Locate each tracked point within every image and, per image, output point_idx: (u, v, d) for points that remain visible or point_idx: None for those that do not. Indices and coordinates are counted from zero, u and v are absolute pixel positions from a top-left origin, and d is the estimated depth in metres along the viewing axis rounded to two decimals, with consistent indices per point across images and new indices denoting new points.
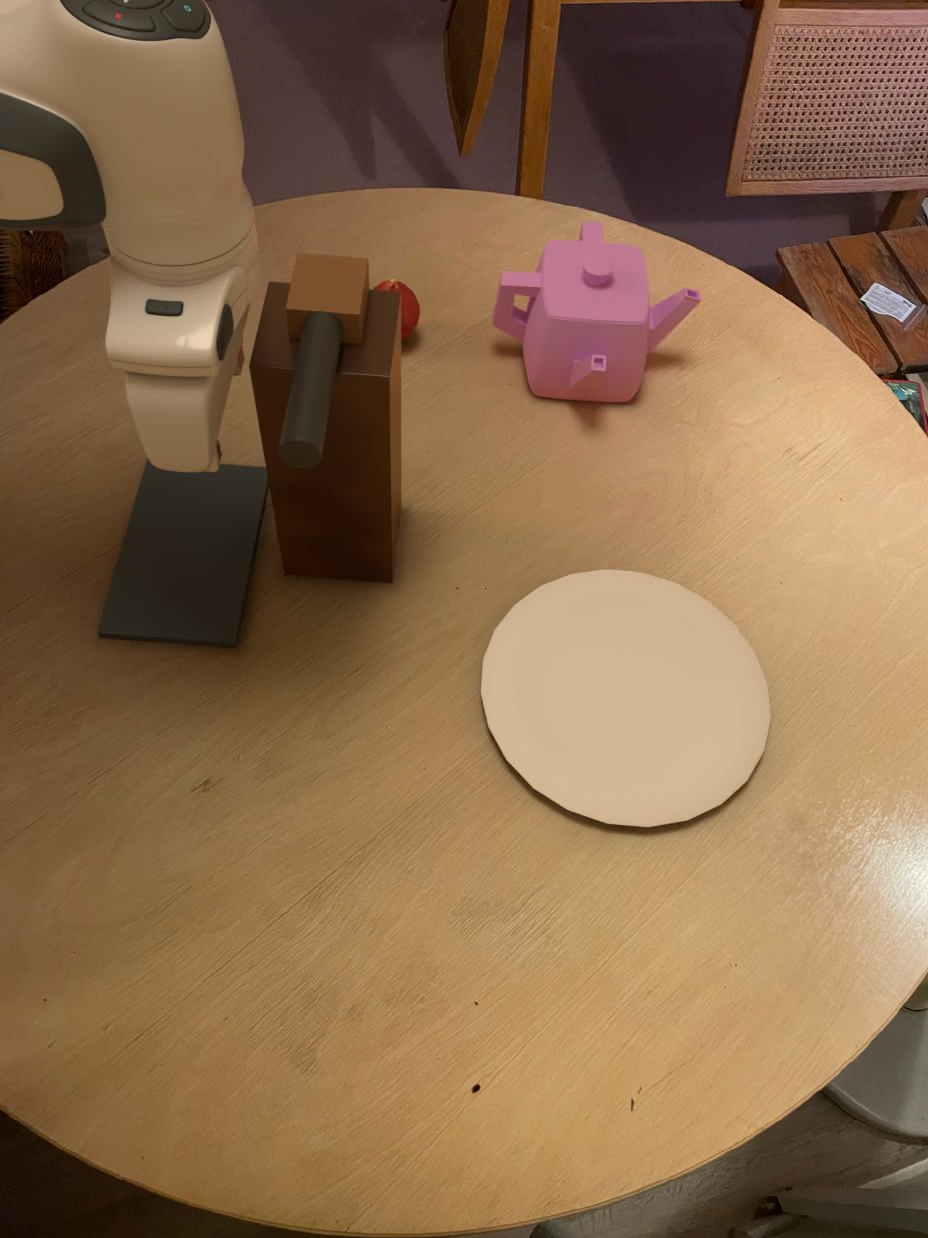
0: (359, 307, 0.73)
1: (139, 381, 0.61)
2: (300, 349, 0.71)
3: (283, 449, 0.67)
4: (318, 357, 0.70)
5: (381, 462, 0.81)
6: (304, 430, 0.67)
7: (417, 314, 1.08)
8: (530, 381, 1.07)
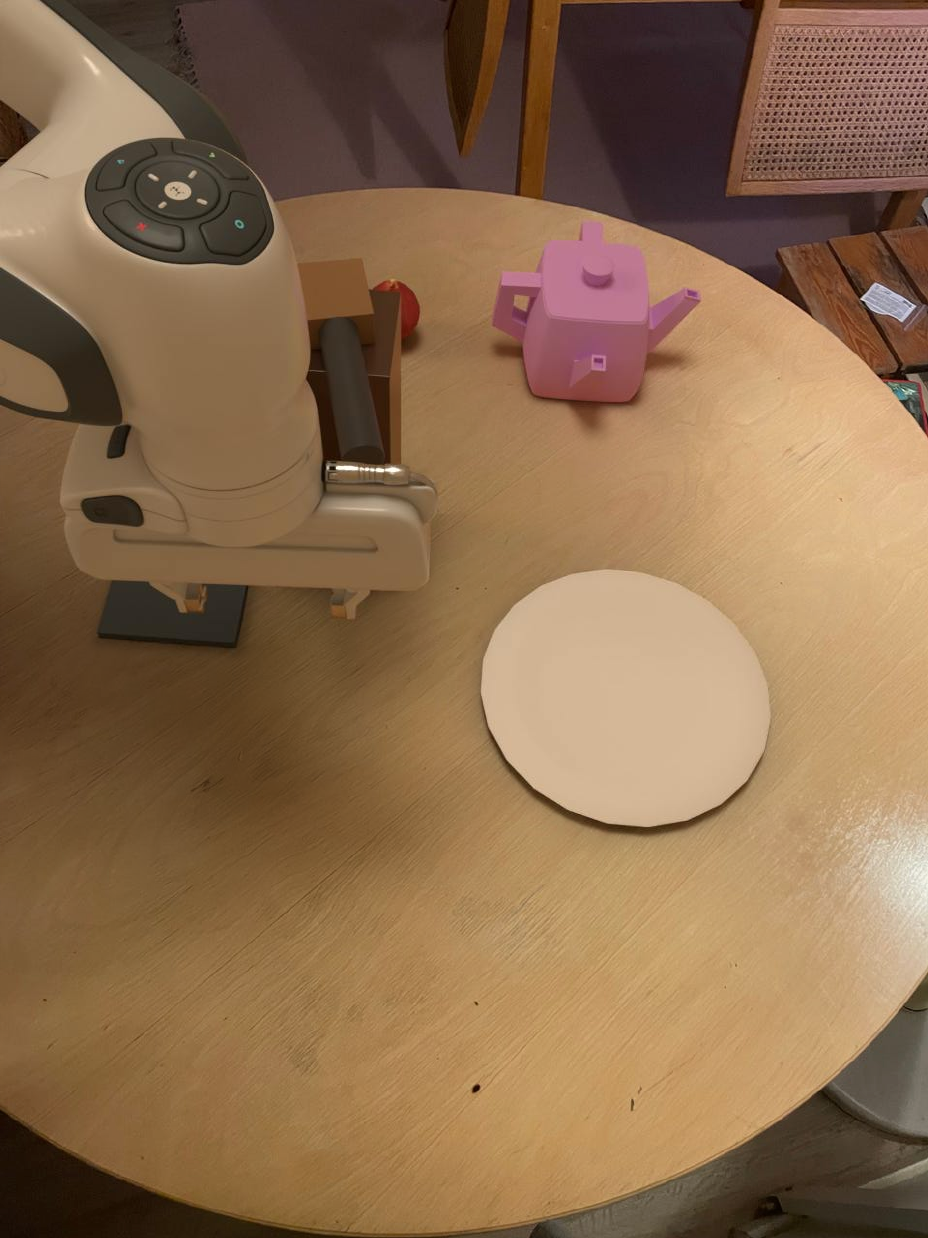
0: (371, 306, 0.73)
1: None
2: (328, 358, 0.71)
3: (347, 458, 0.67)
4: (350, 362, 0.70)
5: None
6: (365, 435, 0.67)
7: (417, 314, 1.08)
8: (530, 381, 1.07)
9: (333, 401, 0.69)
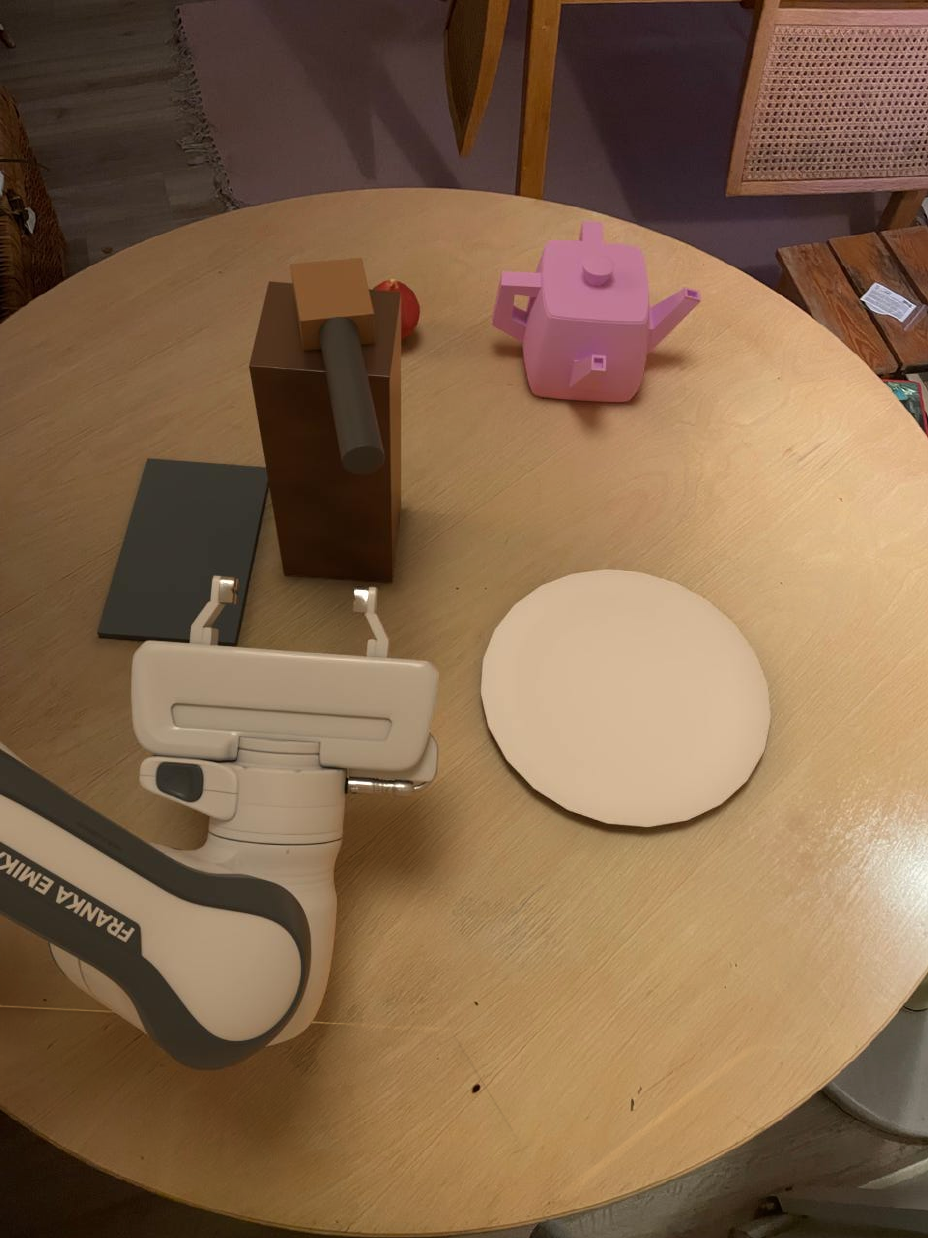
0: (371, 306, 0.73)
1: None
2: (328, 358, 0.71)
3: (347, 458, 0.67)
4: (350, 362, 0.70)
5: None
6: (365, 435, 0.67)
7: (417, 314, 1.08)
8: (530, 381, 1.07)
9: (333, 401, 0.69)
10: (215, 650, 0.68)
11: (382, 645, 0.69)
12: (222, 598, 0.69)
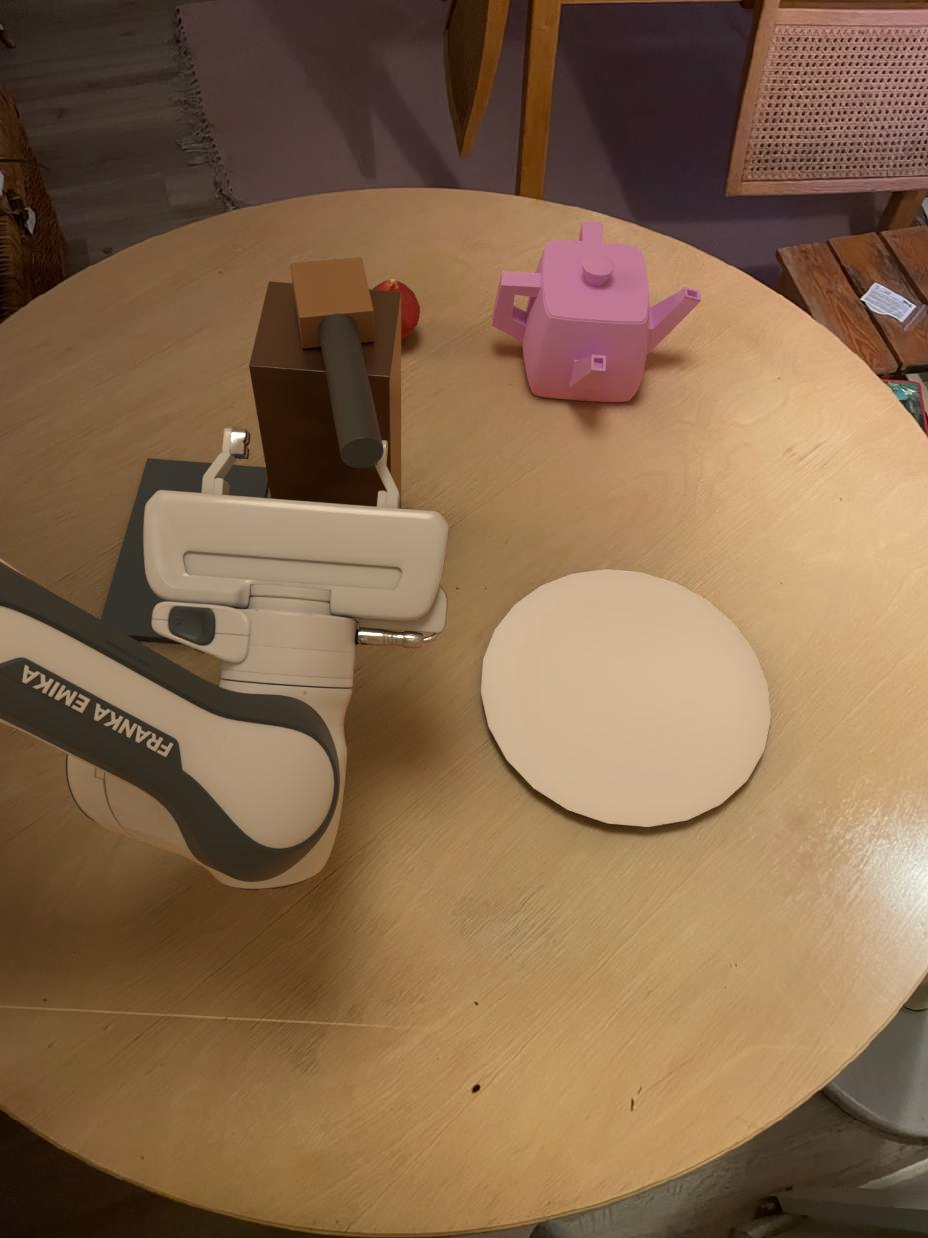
0: (371, 304, 0.73)
1: None
2: (327, 354, 0.71)
3: (346, 451, 0.66)
4: (349, 357, 0.70)
5: None
6: (364, 428, 0.66)
7: (417, 314, 1.08)
8: (530, 381, 1.07)
9: (332, 396, 0.69)
10: (227, 499, 0.68)
11: (392, 496, 0.69)
12: (233, 449, 0.69)
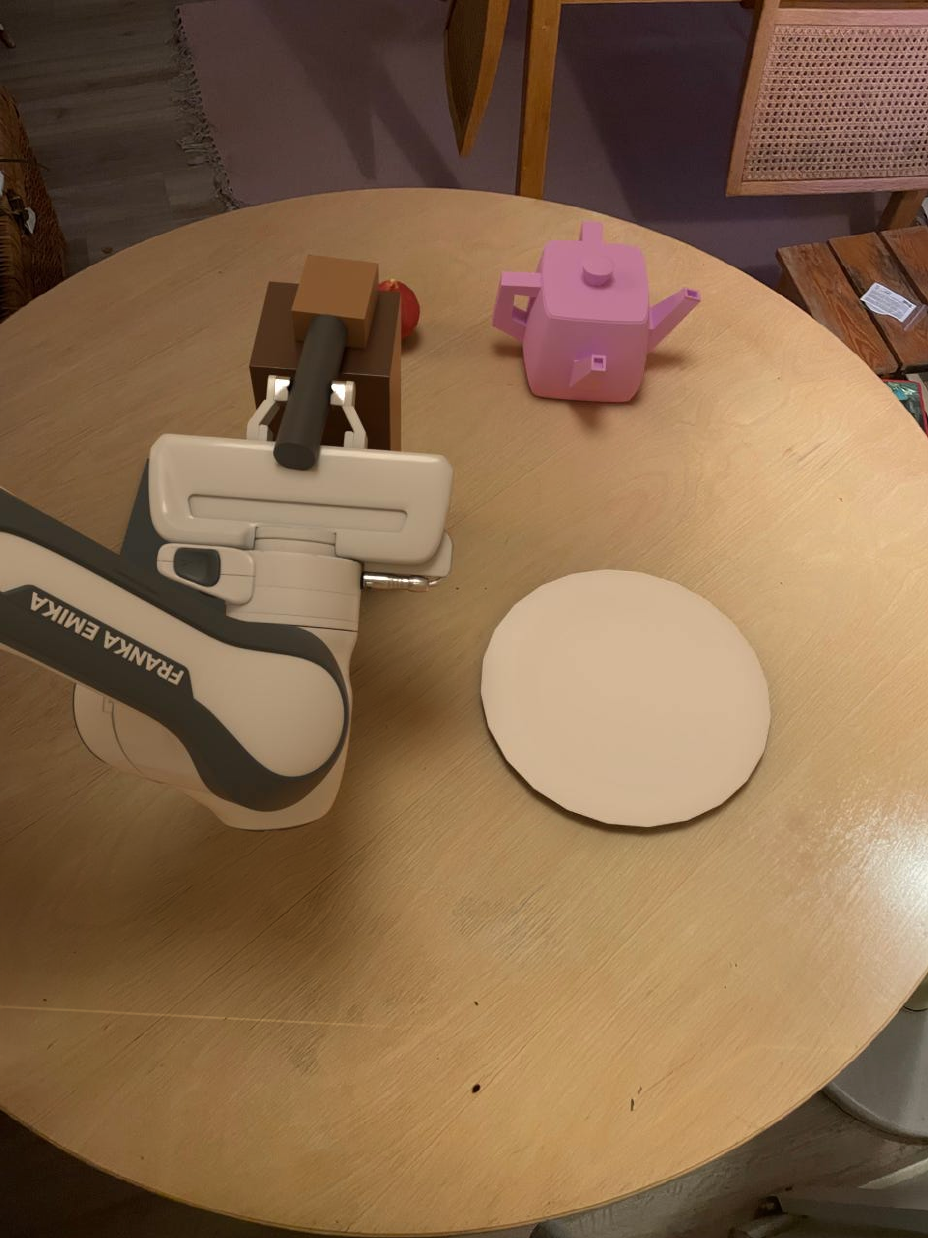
0: (365, 312, 0.73)
1: None
2: (303, 351, 0.71)
3: (277, 451, 0.67)
4: (319, 360, 0.70)
5: None
6: (300, 433, 0.66)
7: (417, 314, 1.08)
8: (530, 381, 1.07)
9: (289, 394, 0.69)
10: (232, 442, 0.68)
11: (359, 437, 0.69)
12: (278, 396, 0.69)
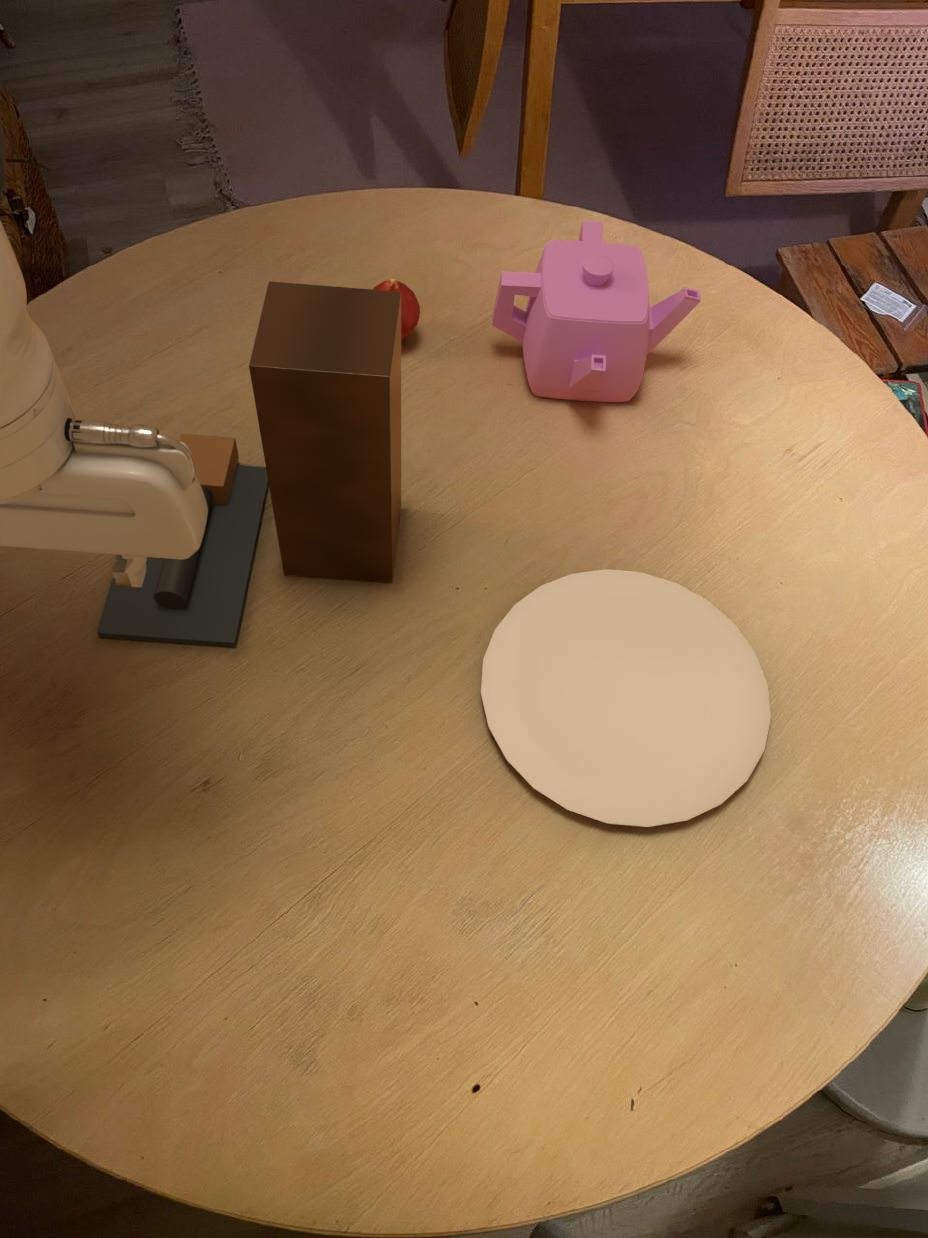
0: (224, 480, 0.96)
1: None
2: None
3: (157, 596, 0.90)
4: None
5: (381, 462, 0.81)
6: (172, 583, 0.90)
7: (417, 314, 1.08)
8: (530, 381, 1.07)
9: None
10: None
11: None
12: None
